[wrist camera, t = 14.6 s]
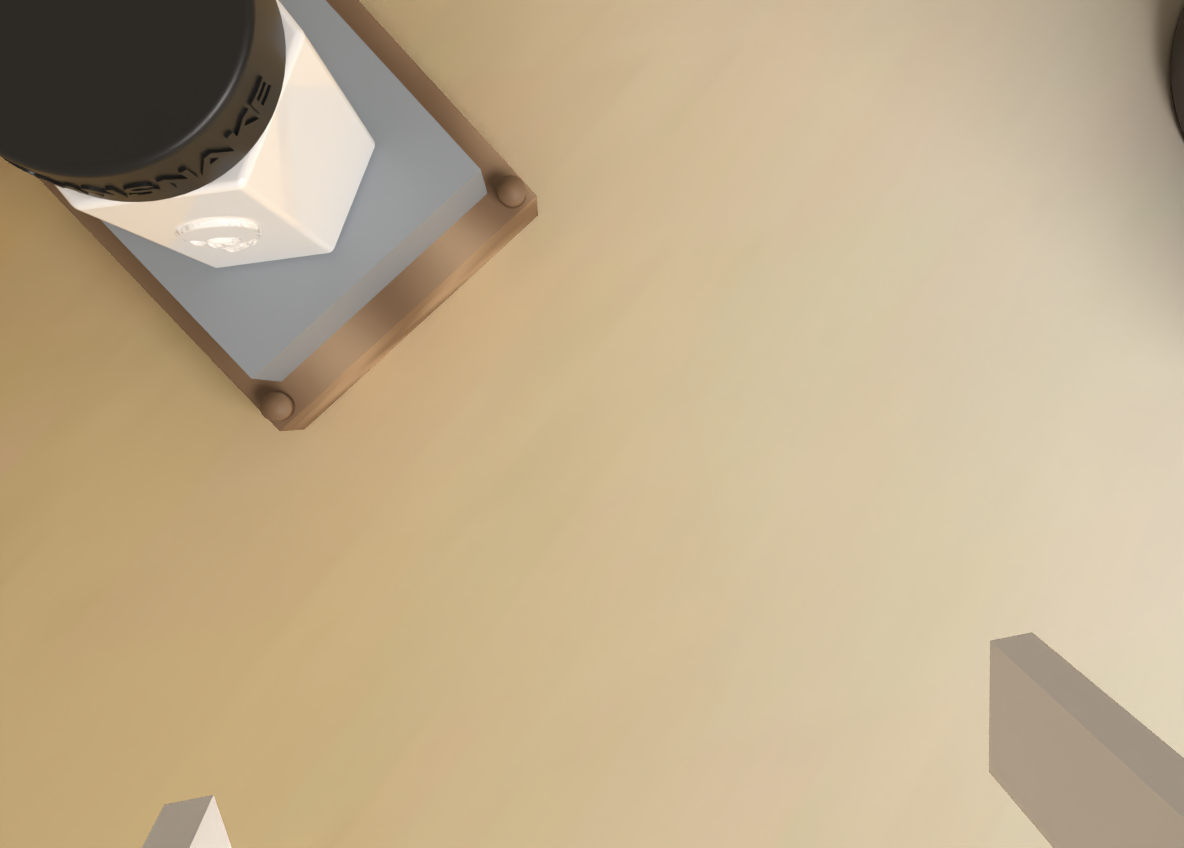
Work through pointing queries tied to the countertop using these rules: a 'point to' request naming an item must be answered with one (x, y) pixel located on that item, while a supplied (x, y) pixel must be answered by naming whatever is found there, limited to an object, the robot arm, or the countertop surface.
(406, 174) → the grey top brick
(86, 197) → the jar
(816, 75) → the countertop surface
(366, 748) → the countertop surface
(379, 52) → the walnut base brick
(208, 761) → the countertop surface
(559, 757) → the countertop surface
